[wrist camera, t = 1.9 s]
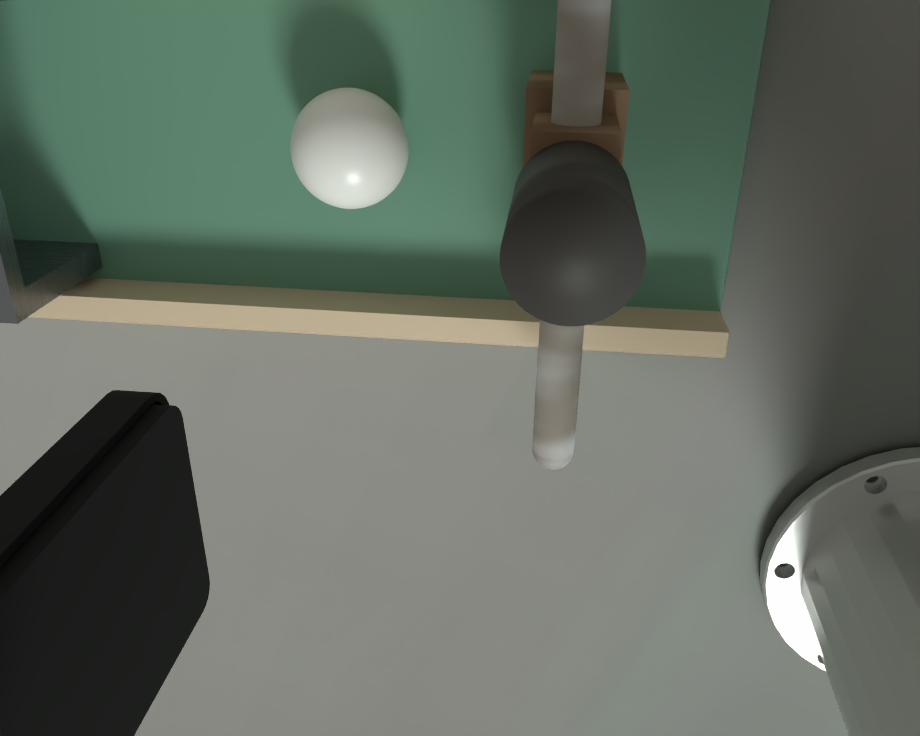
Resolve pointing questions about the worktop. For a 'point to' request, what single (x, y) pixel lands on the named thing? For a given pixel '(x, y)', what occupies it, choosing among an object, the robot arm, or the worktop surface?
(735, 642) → the worktop surface
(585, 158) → the kicker
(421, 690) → the worktop surface
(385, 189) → the ball
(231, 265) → the pitch
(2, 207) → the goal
